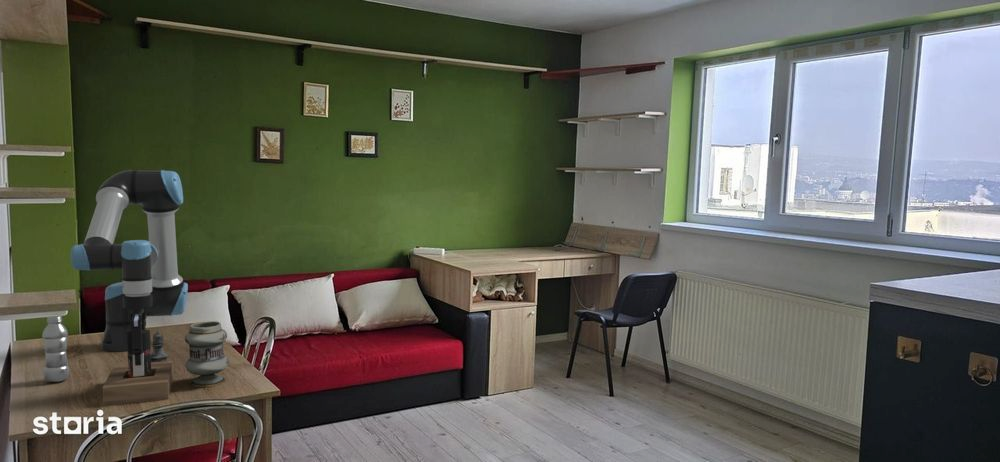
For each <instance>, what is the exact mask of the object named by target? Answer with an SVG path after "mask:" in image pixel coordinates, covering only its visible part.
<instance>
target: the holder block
mask: <svg viewBox="0 0 1000 462" xmlns="http://www.w3.org/2000/svg"><path fill="white" fill-rule="evenodd" d="M173 379H174V362H173V360H166V361H164V362H152V363H151V376H148V377H137V378H129V376H128V363H127V364H116V365H113V367H112V369H111V370H110V373H109V375H108V376H107V379H106V380H105V383H104V384H103V386H102V405H103V406H113V405H121V404H124V405H125V404H132V403H142V402H152V401H162V400H163V401H164V400H169V397H170V392H171V389H172V384H173Z"/></svg>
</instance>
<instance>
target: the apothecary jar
mask: <svg viewBox="0 0 1000 462" xmlns="http://www.w3.org/2000/svg"><path fill="white" fill-rule="evenodd" d="M227 339H228V333H227V331H226V330H225V329H223V327H222V324H221V322H220V321H214V320H210V321H209V320H208V321H199V322H195V323H192V324H191V325H190V328H189V331H188V332H187V333H186V335H185V336H184V341H185V343H187V344H188V346H189V348H188V349H189V359H187V361H186V362H185V369H186V371H187V372H189V373H190V374H192V375H195V376H197V377H195V378H194V377H193V378H192V379H191V380H190V381H189V384H190V385H192V386H193V387H195V388H196V387H197V388H198V387H199V388H205V387H208V388H209V387H214V386H218V384H219V385H221V384H222V383H223V384H224V382H225V381H226V378H225V377H224V376H222V375H219V374H220V373H221V372H222V371H224V370H225V369H226V368H227V367H229V366H228V365H229V364H230V363H229V362H230V361H229V358H228V357H227V355H225V354H224V353H225V351H224V350H225V349H224V342H225V341H226V340H227Z"/></svg>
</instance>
